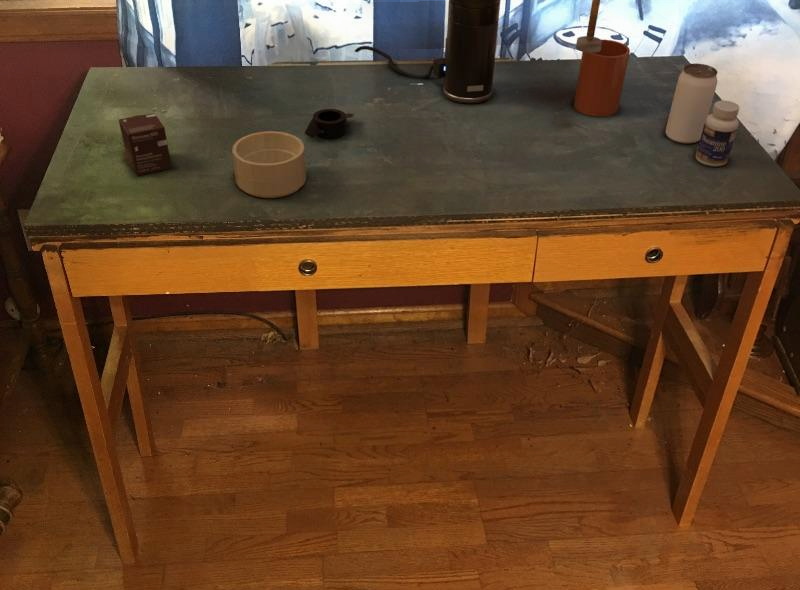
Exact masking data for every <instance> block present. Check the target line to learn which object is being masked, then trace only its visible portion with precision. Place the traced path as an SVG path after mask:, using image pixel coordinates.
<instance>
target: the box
mask: <svg viewBox="0 0 800 590" xmlns="http://www.w3.org/2000/svg"><path fill="white" fill-rule="evenodd" d="M118 122H119V123H118V124H119V128H120V133H121V138H122V143H123V147H124V152H125V153H124V154H125V157H126V160H127V162H128V164H129V165H130V167H131V168H132V170H133V172H134V174H135V175H136V176H142V175H147V174H151V173H157V172H161V171H165V170H169V169H172V162H171V161H172V160H171V155H170V150H169V145H168V139H167V134H166V128H165V125H163V123H162V122H161V121H160V119H159V117H158V116H157V115H156V113H155V112H153V113H148V114H139V115H133V116H130V117H124V118H119V119H118Z"/></svg>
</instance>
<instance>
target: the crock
mask: <svg viewBox="0 0 800 590" xmlns="http://www.w3.org/2000/svg"><path fill="white" fill-rule="evenodd" d="M601 40H602V45H601V50H600V51H599V52H596V53H586V52H582V51H581V57H580V63H579V70H578V76H577V82H576V87H575V88H576V89H575V94H574V100H573V107H574V108H575V110H576V111H577V112H579V113H581V114H582V115H583V114H584V115H586V116H591V117H609V116H613V115H615V114H616V113H617V112H618V110H619V106H620V103H621V98H622V93H623V87H624V83H625V78H626V74H627V73H626V72H627V68H628V63H629V57H630V53H631V50H630V47H629V46H627V44H624V43H623V42H621V41H616V40H612V39H601Z"/></svg>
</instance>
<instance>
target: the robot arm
mask: <svg viewBox="0 0 800 590" xmlns="http://www.w3.org/2000/svg"><path fill="white" fill-rule="evenodd" d="M500 8H501V0H448V7H447V27H446V29H447V30H446V38H445V45H444V47H445V48H444V57H440V58H435V59H434V58H433V62H432V64H431V65H430V66H429V68H428V71H427V73H425V74H422V75H415V74H411V73H408V72H406V71H404V70H402V69H400V68H398V67H396V66H395V65H394V62H393V59H392V57H391V56H390V55H389V54H387V53H386V52H384V51H381V50H380V49H378V48H377V47H376V48H375V47H373V46H369V45H361V46H359V47H357V48H356V49H354V52H355V53H359V52H361V51H364V50H365V51H371V52H372V53H373V52H374V53H376V54H378V55H380V56H381V57H383V58H385V59H387V60H388V64H389V67H390V69H391V70H392V71H394V72H396V73H397V74H400V75H402V76H404V77H406V78H410V79H417V80H418V79H419V80H425V79H427V78H430V77H431V75H432V74H433V75H434V76H435V77H436V78H438V79H443V83H442V88H443V89H442V93H443V95H444V97H445V98H447V99H448V100H450V101H453V102H456V103H460V104H478V103H483V102H486V101H488V100H490V99H491V98H492V96H493V90H494V89H493V84H494V74H495V64H496V53H497V43H498V31H499V22H500Z"/></svg>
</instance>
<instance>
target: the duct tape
mask: <svg viewBox="0 0 800 590" xmlns="http://www.w3.org/2000/svg"><path fill="white" fill-rule="evenodd" d="M354 116H355V114H354V113H350V112H349V113H345V112H344V111H342V110H340V109H336V108H323V109H320V110H317V111H316V112H314V113H313V115H312V118H311V120H310V122H309V124H308V125H307V127H306V129H305V131H304V134H305V135H307V136H308V137H310V138H314V137H318V138H319V139H323V140H336V139H341V138H342V137H344V136H345V135H346V134H347V119H350V118H352V117H354Z"/></svg>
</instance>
